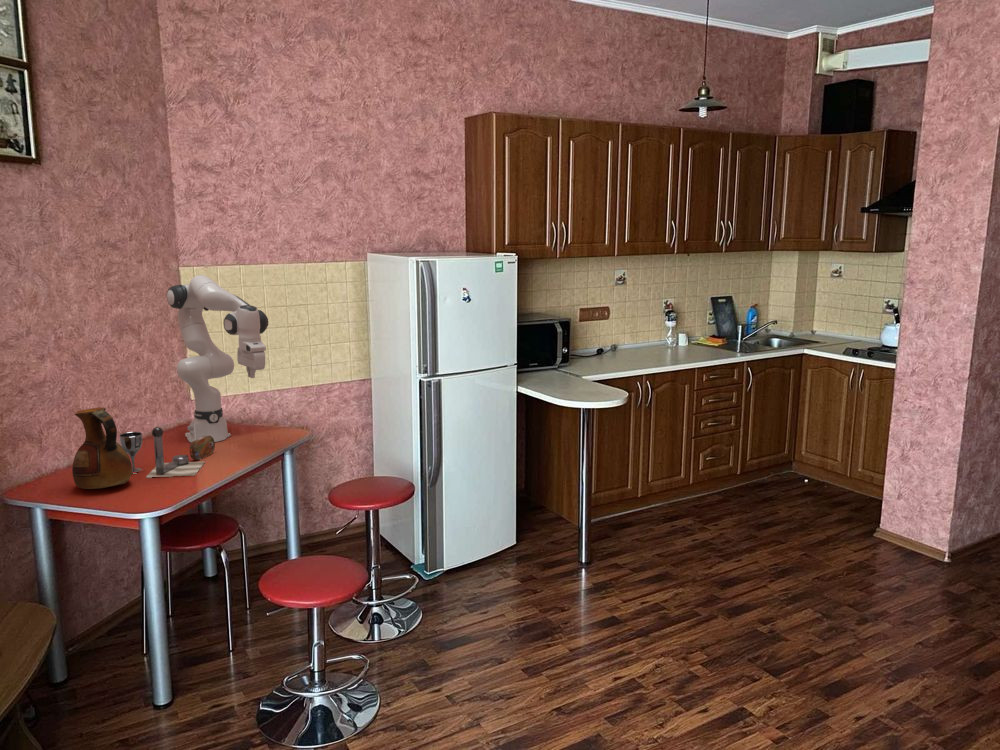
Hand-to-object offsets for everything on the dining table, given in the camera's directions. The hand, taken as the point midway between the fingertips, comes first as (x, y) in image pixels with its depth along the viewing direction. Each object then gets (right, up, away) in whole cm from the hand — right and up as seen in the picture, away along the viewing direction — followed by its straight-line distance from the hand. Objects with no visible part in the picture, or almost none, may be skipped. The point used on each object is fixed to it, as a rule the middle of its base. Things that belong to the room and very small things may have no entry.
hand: (251, 377), depth 321 cm
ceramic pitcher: (-44, -41, -35) cm, 69 cm away
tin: (-22, -34, +4) cm, 40 cm away
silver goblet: (-42, -37, -16) cm, 58 cm away
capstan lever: (-27, -36, -15) cm, 47 cm away
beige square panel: (-25, -37, -15) cm, 47 cm away
